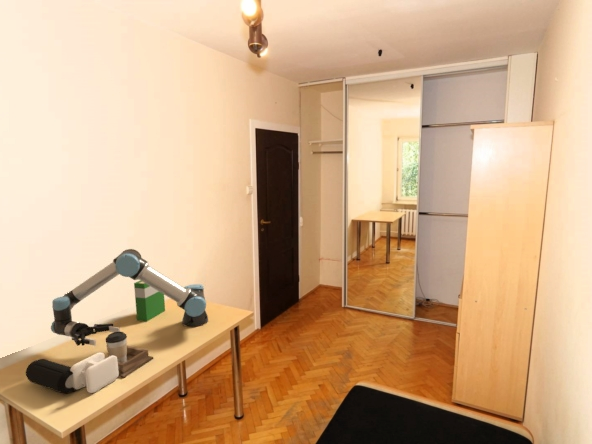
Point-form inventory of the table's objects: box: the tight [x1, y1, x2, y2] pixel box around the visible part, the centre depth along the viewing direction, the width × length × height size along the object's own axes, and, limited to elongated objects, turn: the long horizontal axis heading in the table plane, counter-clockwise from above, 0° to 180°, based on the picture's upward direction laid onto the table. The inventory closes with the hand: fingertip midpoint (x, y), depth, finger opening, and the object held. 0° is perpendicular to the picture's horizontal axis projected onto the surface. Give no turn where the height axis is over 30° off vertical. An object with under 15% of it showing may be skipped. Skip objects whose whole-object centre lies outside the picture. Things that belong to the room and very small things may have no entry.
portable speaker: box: [25, 358, 77, 394], centre depth 158 cm, size 26×10×10 cm, turn 66°
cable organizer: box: [70, 352, 119, 394], centre depth 158 cm, size 15×11×12 cm
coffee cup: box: [105, 331, 128, 363], centre depth 174 cm, size 9×9×15 cm
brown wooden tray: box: [117, 345, 154, 379], centre depth 175 cm, size 16×18×5 cm
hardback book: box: [133, 280, 166, 322], centre depth 233 cm, size 18×7×24 cm, turn 163°
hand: (107, 336), depth 177 cm, fingers open, 13 cm apart
